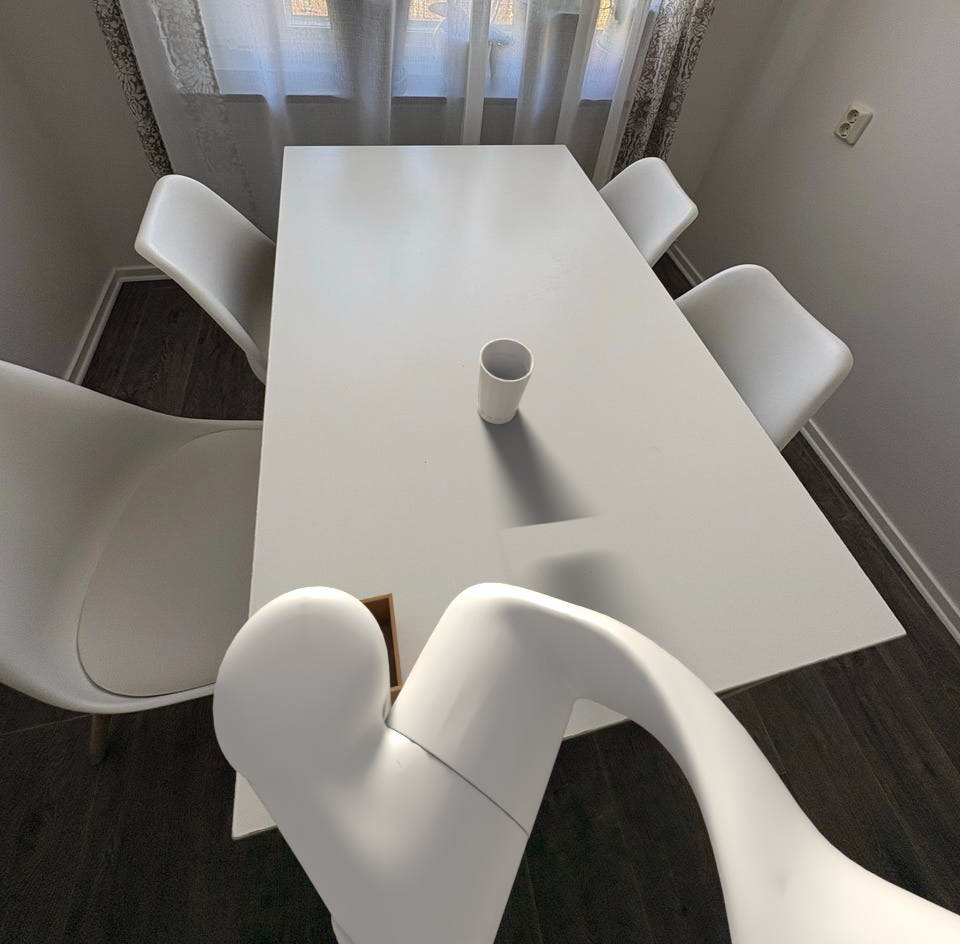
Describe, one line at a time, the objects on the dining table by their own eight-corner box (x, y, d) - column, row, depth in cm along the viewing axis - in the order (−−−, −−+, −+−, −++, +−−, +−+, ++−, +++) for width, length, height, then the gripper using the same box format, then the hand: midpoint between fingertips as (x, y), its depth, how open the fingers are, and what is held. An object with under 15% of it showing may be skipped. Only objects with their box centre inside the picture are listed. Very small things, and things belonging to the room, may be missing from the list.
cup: (468, 388, 86) (475, 340, 78) (515, 384, 87) (527, 336, 79) (476, 431, 80) (484, 384, 72) (526, 426, 82) (540, 379, 74)
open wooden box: (404, 725, 55) (405, 708, 48) (306, 752, 53) (290, 740, 45) (393, 621, 62) (392, 592, 54) (305, 641, 59) (291, 614, 52)
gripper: (264, 593, 35) (300, 656, 48) (252, 927, 25) (302, 894, 38) (378, 569, 37) (383, 636, 50) (408, 872, 27) (405, 858, 40)
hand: (348, 748), depth 44 cm, fingers closed
